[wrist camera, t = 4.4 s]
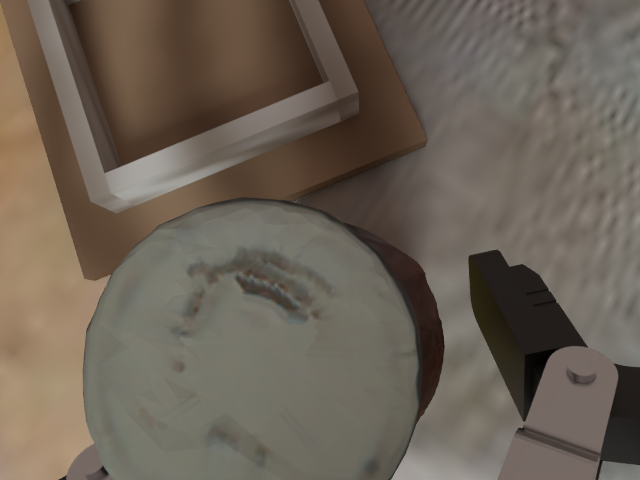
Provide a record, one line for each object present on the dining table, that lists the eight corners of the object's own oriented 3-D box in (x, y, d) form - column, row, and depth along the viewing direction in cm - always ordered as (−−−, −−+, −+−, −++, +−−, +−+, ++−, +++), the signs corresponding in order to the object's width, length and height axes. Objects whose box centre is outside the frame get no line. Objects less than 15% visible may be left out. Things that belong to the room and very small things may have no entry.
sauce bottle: (363, 238, 26) (344, -33, 7) (443, 343, 25) (712, 394, 5) (255, 318, 26) (-94, 283, 6) (330, 427, 25) (187, 795, 5)
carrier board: (296, -135, 30) (287, -195, 26) (425, 146, 27) (433, 119, 23) (5, -12, 30) (-42, -56, 27) (94, 280, 27) (54, 273, 23)
